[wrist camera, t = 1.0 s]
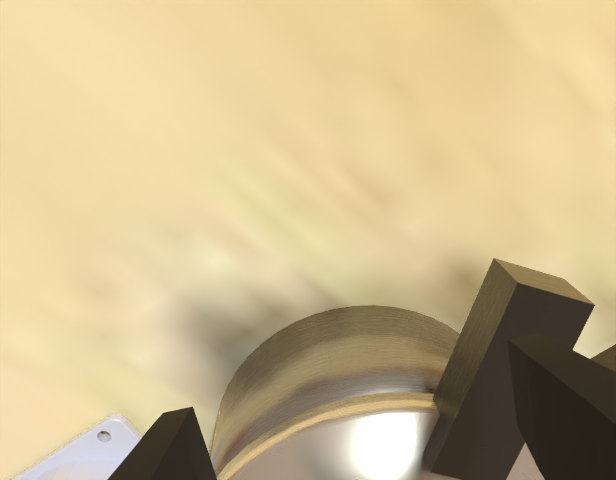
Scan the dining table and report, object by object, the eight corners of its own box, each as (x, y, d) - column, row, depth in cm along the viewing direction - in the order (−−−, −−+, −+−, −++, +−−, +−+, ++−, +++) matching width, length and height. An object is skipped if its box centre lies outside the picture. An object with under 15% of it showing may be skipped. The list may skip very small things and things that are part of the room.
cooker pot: (322, 590, 27) (333, 737, 21) (155, 410, 23) (115, 528, 18) (648, 409, 24) (760, 520, 19) (516, 178, 21) (603, 228, 15)
